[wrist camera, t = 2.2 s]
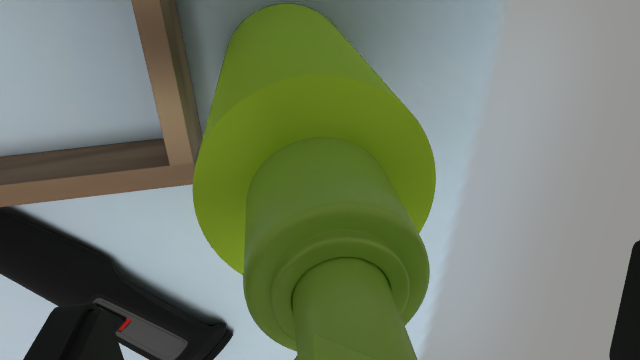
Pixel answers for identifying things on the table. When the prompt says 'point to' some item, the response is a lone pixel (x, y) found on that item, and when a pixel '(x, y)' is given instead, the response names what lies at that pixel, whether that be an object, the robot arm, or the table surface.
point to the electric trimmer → (103, 293)
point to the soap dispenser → (316, 189)
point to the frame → (125, 158)
